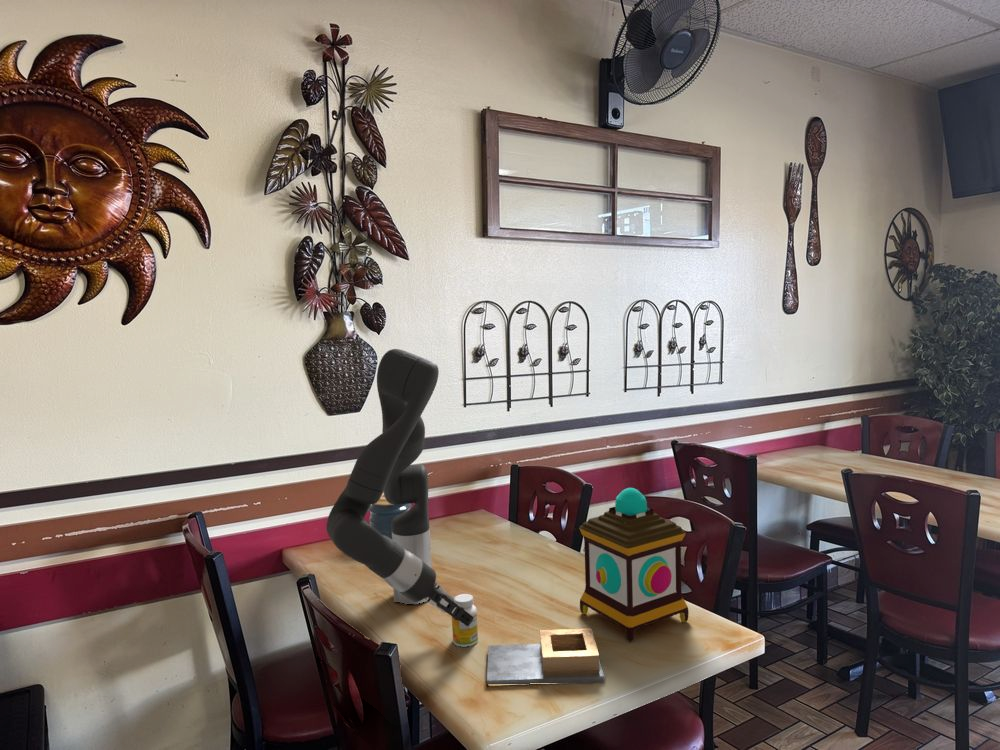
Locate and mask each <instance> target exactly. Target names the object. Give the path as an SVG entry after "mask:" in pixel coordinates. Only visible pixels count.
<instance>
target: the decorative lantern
mask: <svg viewBox="0 0 1000 750" xmlns="http://www.w3.org/2000/svg"><path fill="white" fill-rule="evenodd" d="M608 508H609V509H608V511H604V513H603V514H601V515H599V516H596V517H591V518H588V520H587V521H585V522H583V523H582V524H581V525H579V528H578V529H579V530H580V533H581V535H582V537H583V541H584V545H583V547H584V570H585V571H584V575H585V578H584V579H585V588H584V591H583V593H582V595H581V596H580V599H579V610H580V613H581V614H582V615H587V613H588V612H589V608H590V609H591V611H592V610H593V611H594V612H596V613H597V614H599V615H601V616H603V617H604V618H606V619H607V620H609V621H611V622H613V623H614V624H616V625H618V626H620V627H621V628H622V629H623V630H624V631H625V635H626V636H625V637H626V640H627V642H628V643H632V642H634V639H635V638H634V637H635V632H636V631H637V630H638V629H640V628H644V627H646V626H649V625H652V624H654V623H657V622H660V621H663V620H665V619H667V618H671V617H673V616H677V615H679V618H680V620H681V622H683V623H687V622H688V620H689V607H688V604H687V602H686V601H685V599H684V597H683V593H682V542H683V539H684V538H685V537H686V530H685V529H683V528H682V527H681V526H680V525H678V524H676V522H674V521H672V520H669V519H666V518H663V517H661V516H660V515H659V514H658V513H656V512H654V509H653V508H650V507H648V501H647V499H646V497H645V496H644V494H643V493H641V492H640V491H639V489H636V488H634V487H627V488H625V489H623V490H621V492H619V494H618V495H617V496H616V497H615V505H614V506H612V507H608Z"/></svg>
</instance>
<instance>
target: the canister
mask: <svg viewBox="0 0 1000 750" xmlns="http://www.w3.org/2000/svg"><path fill="white" fill-rule="evenodd" d="M411 508H412V503H409V504H398V505H395V504H390V503H388V502H387V500H386V498H385V496H384V492H383V493H382V495H381V497H380V499H379V501H378V502H377V503H375V504H371V505H370V507H369V509H368V511H369V512H370V516H369V519H368V521H369V524H370V525H371V526H372V527H373V528H374V529H375V530H377V531H378V532H379V533H380V534H382V535H385V536H387V537H389V538H390V539H392V520H393V519H394V518H395V517H397V516H398V515H401V514H403V513H405V512H407V511H408V510H410V509H411Z"/></svg>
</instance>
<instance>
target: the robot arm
mask: <svg viewBox="0 0 1000 750" xmlns="http://www.w3.org/2000/svg"><path fill="white" fill-rule="evenodd" d="M438 379H439V367H438V365H437V363H435V362H434V361H432V360H429V359H427V358H424V357H422V356H420V355H417V354H415V353H411V352H408V351H406V350H403V349H400V348H399V349H398V348H393V349H389V350H388V351H386V352H385V353H384V355H383V356H382V357H381V359H380V361H379V364H378V368H377V373H376V387H377V393H378V399H379V404H380V408H381V409H380V410H381V419H382V420H381V421H382V431H381V432H382V433H381V434H379V435H378V436H376V437H375V438H374V439H373V440H371V441H370V442H369V443H368V444H367V445H366V446H365V447H364V448H363V449H362V450H361V452H360V453H359V455H358V456H357V459H356V461H355V463H354V466H353V468H352V470H351V473H350V475H349V478H348V480H347V483H346V486H345V488H344V489H343V490H342V492H341V493H340V495H339V496H338V498H337V499H336V501H335V503H334V504H333V506H332V508H331V510H330V512H329V515H328V516H327V521H326V526H325V527H326V533H327V535H328V537H329V539H330V540H331V542H332V543H333V545H334V546H335V547H336V548H337V549H338V550H339V551H340V552H342V553H343V554H344V555H346V556H348V557H349V558H350V559H352V560H354V561H356V562H358V563H359V564H362V565H364V566H365V567H367V568H368V569H369V570H370V571H371V572H373V573H374V574H376V575H377V576H379V577H380V578H381V579H382V580H383V581H385V584H388V585H389V586H390V587H392V590H393V603H394V602H401V603H400V604H402V603H404V604H403V605H407V604H414V605H420V604H423V602H424V603H426V602H427V604H430V605H431V606H434V607H436V608H437V609H438V610H440V611H441V612H442V613H445V614H446V613H447V614H448V615H449V616H450V617H451V618H452V617H453V618H454V619H455V620H457V621H458V620H459V621H461V622H462V623H463V624H465V625H466V626H469V625H470V623H471V622H472V620H473V616H472V615H470V614H469V613H468V612H466V611H465V610H464V608H463V607H462V606H459V605H458V604H456V603H455V602H454V601H455V599H454V598H455V597H453V596H452V595H451V594H449V593H448V592H446V589H445V588H444V587H442V586H440V584H438V583H437V582H436V581H437V574H436V571H435V569H433V567H432V553H431V551H432V548H431V533H430V531H431V530H430V519H429V518H430V514H429V476H428V471H427V468H426V466H425V465H424V464H414V462H416V460H417V459H418V458H419V457H420V456H421V454H422V452H423V450H424V448H425V442H426V441H425V439H426V438H425V437H426V426H425V423H424V420H423V418H422V414H423V412H424V411H425V409H426V407H427V405H428V403H429V401H430V400H431V397H432V396H433V393H434V392H435V391H434V390H435V388H436V386H437V383H438ZM382 493H384V496H385V498H386V500H387V502H388V503H390V504H395V505H398V504H409V503H411V504H413V506H411V507H410V510H408V511H407V512H405V513H403V514H401V515H398V516H397V517H395V518H394V519H393V520H392V539H390V538H389V537H387V536H385V535H382V534H380V533H379V532H378V531H377V530H375V529H374V528H373V527H372V526H371V525H370V523H368V522H367V520H365V517H366V516H367V513H368V511H369V510H368V509H369V507H370V505H372V504H375V503H377V502H378V501H379V499H380V497H381V495H382ZM419 603H420V604H419ZM455 607H457V608H456V609H455V611H454V612H453V613H452V611H453V610H454V608H455Z"/></svg>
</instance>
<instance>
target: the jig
mask: <svg viewBox="0 0 1000 750" xmlns="http://www.w3.org/2000/svg"><path fill="white" fill-rule="evenodd" d="M486 670H487V671H486V685H487V684H530V683H576V684H594V683H593V682H603V683H605V674H604V671H603V666H602V664H601V660H600V654H599V651H598V646H597V643H596V639H595V636H594V633H593V629H592V628H568V629H565V628H563V629H542V630H541V629H540V630H539V643H527V644H525V643H523V644H499V645H498V644H497V645H495V644H493V645H488V646H487V669H486Z"/></svg>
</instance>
